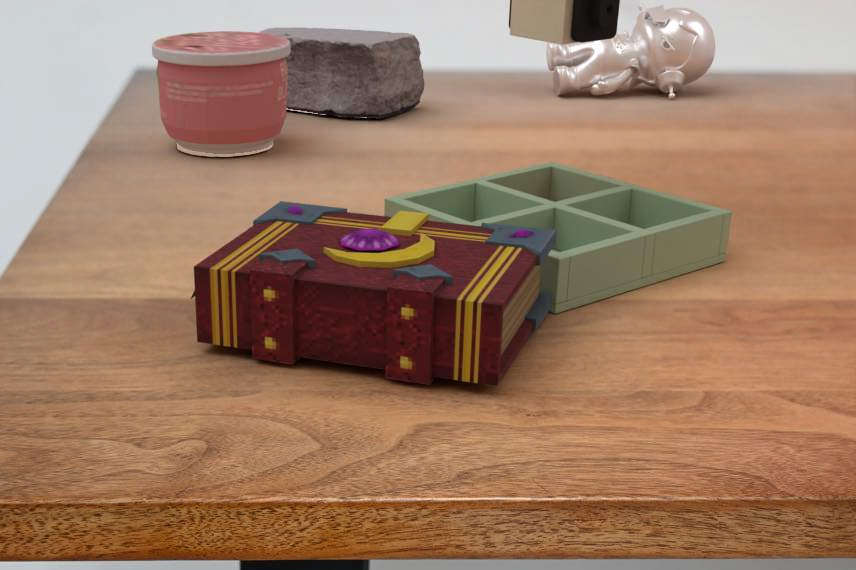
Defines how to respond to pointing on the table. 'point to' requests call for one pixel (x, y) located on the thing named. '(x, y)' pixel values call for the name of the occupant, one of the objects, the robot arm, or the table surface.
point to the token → (542, 20)
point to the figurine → (638, 55)
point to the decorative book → (376, 292)
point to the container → (222, 89)
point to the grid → (585, 227)
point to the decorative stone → (352, 71)
